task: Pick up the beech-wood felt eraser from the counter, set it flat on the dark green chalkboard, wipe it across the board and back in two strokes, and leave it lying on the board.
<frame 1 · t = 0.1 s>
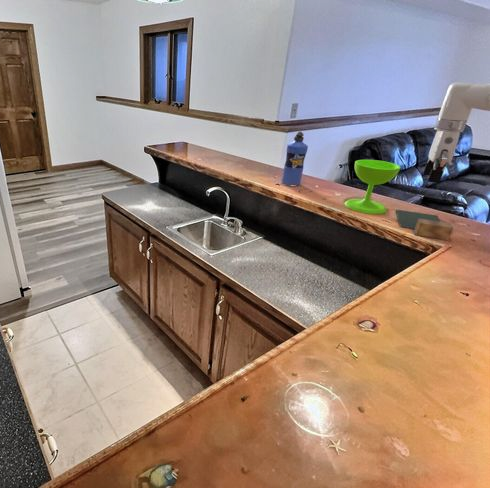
hand: (430, 178, 117), 19 cm above the counter, tool pointing down, fingers open, 9 cm apart
wineglass: (364, 207, 146), on the counter
eraser: (428, 239, 119), on the counter
water bottle: (290, 184, 175), on the counter
chalkboard: (419, 223, 131), on the counter
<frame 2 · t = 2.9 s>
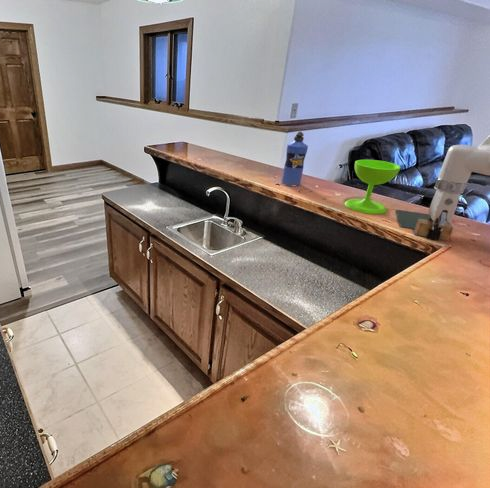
hand: (429, 236, 118), 1 cm above the counter, tool pointing down, fingers closed on eraser, 5 cm apart
eraser: (428, 239, 119), on the counter, touching gripper
everything else where it was.
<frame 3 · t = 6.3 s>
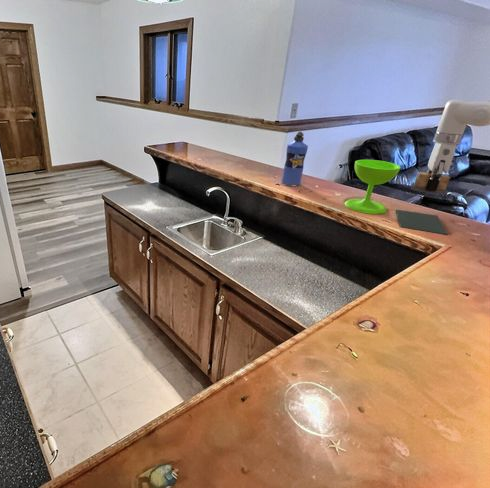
hand: (428, 188, 129), 13 cm above the counter, tool pointing down, fingers closed on eraser, 5 cm apart
eraser: (427, 190, 129), point 12 cm above the counter, touching gripper
everything else where it was.
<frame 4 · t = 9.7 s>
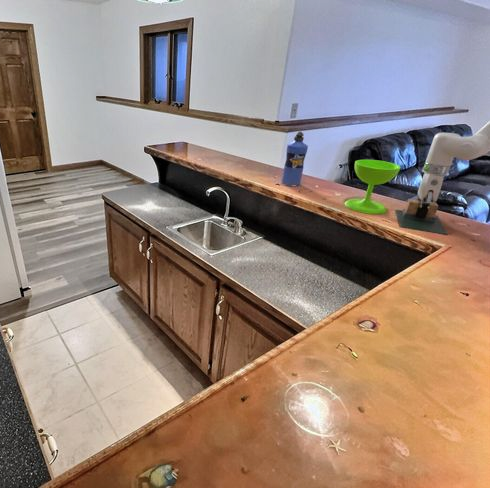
hand: (418, 214, 134), 2 cm above the counter, tool pointing down, fingers closed on eraser, 5 cm apart
eraser: (417, 217, 134), point 1 cm above the counter, touching gripper
everything else where it was.
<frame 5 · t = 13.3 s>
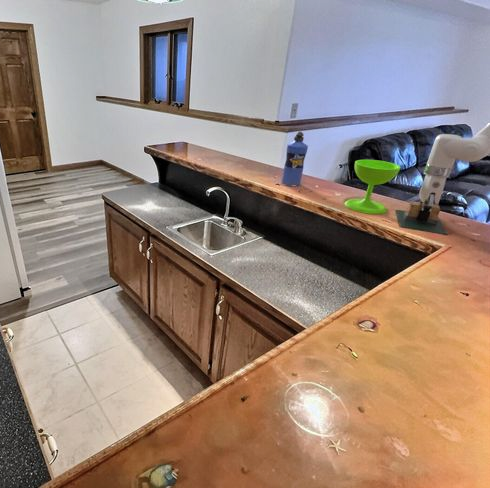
hand: (420, 217, 132), 2 cm above the counter, tool pointing down, fingers closed on eraser, 5 cm apart
eraser: (419, 219, 132), point 1 cm above the counter, touching gripper
everything else where it was.
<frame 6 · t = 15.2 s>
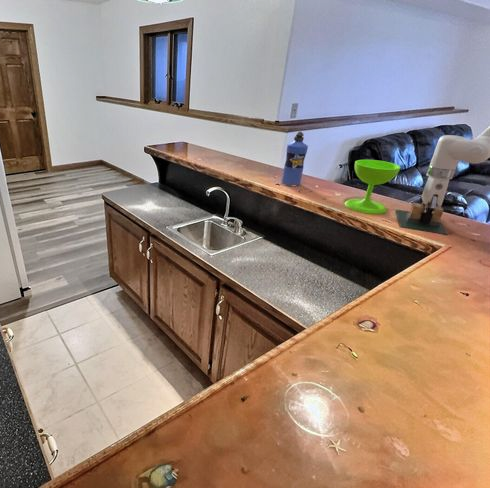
hand: (422, 219, 130), 2 cm above the counter, tool pointing down, fingers closed on eraser, 5 cm apart
eraser: (422, 221, 130), point 1 cm above the counter, touching gripper
everything else where it was.
when the fingers open (2 cm above the counter, at t = 16.3 s): eraser stays where it is, resting on chalkboard.
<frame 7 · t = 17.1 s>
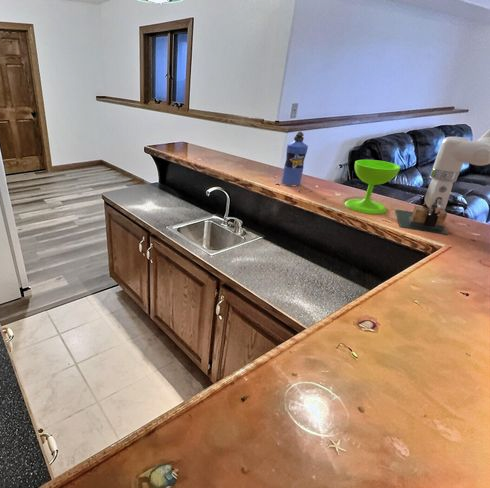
hand: (426, 221, 126), 3 cm above the counter, tool pointing down, fingers open, 9 cm apart
eraser: (424, 225, 127), point 1 cm above the counter, touching chalkboard
everything else where it was.
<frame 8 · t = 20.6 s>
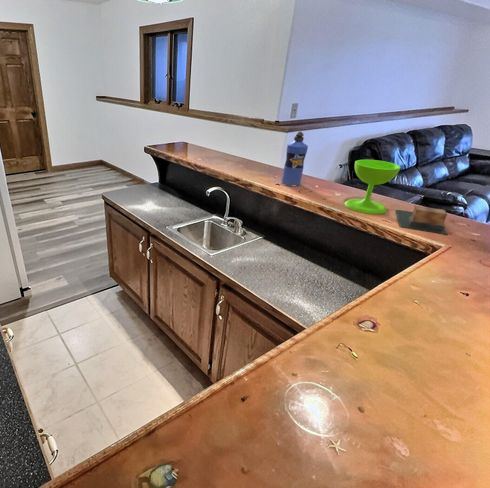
nothing on the counter moved.
at the end: eraser inside the target area on the chalkboard (4.1 cm from its centre), point 1.0 cm above the chalkboard's base; eraser tilted 0°; eraser moved 11.0 cm from its start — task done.
